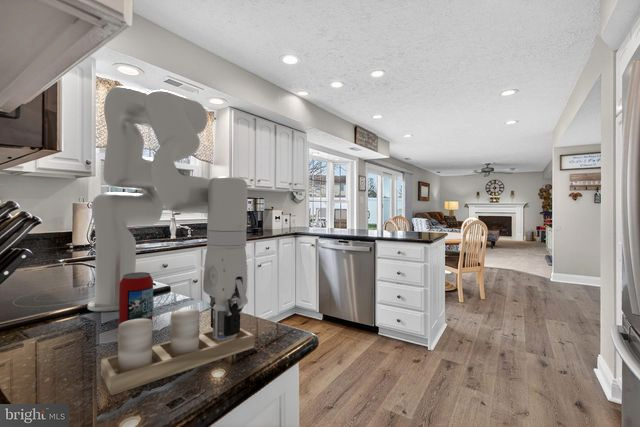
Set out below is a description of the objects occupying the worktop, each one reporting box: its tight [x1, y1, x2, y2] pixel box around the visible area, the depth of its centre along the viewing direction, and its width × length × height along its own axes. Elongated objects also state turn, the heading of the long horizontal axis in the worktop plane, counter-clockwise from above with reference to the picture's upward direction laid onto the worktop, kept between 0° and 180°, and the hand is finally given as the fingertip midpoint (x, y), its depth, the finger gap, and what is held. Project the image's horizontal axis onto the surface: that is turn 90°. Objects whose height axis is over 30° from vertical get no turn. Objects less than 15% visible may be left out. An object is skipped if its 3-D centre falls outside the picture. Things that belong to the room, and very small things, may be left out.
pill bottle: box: [212, 294, 237, 341], centre depth 62 cm, size 5×5×8 cm
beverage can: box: [118, 271, 154, 325], centre depth 72 cm, size 7×7×12 cm
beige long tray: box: [100, 308, 255, 396], centre depth 57 cm, size 8×24×8 cm, turn 134°
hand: (225, 329), depth 62 cm, fingers closed on pill bottle, 4 cm apart
